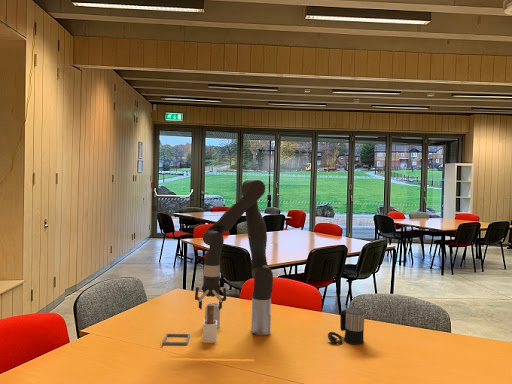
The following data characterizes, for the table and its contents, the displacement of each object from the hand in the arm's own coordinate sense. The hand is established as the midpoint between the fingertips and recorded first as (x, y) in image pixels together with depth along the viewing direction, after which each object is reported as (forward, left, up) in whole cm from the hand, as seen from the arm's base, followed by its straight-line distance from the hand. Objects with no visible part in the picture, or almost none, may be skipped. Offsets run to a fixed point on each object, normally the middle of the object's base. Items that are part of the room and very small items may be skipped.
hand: (210, 309), depth 202 cm
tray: (+15, +1, -15) cm, 21 cm away
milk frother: (-64, -3, -15) cm, 66 cm away
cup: (0, 0, -15) cm, 15 cm away
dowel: (0, 0, -14) cm, 14 cm away
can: (0, -18, -15) cm, 23 cm away
